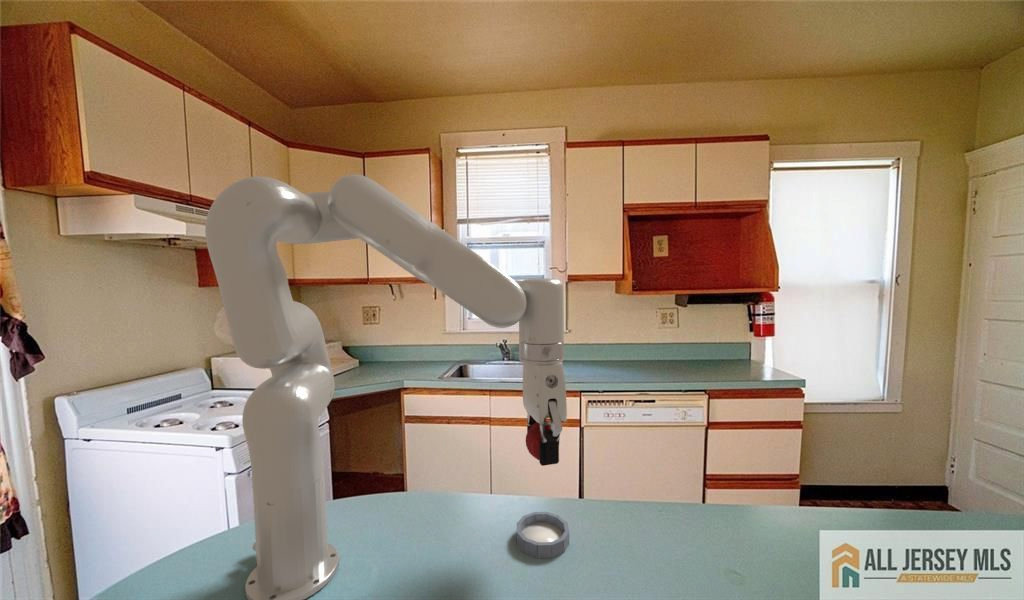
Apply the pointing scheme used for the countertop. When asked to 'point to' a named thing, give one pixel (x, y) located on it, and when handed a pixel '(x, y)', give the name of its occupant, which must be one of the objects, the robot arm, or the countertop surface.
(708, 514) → the countertop surface
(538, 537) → the gray dish
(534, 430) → the onion
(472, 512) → the countertop surface
